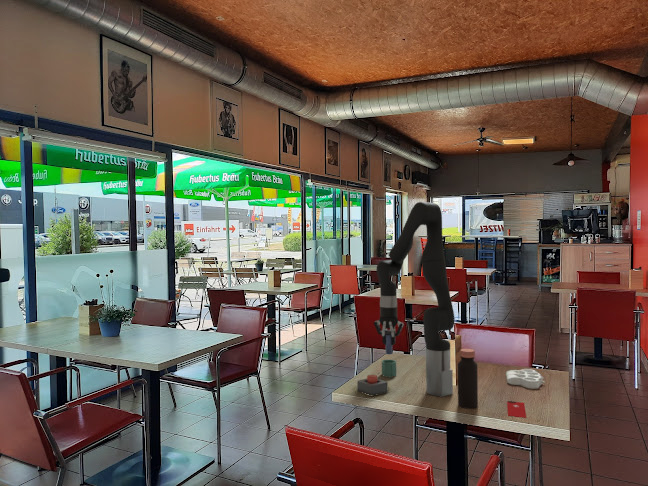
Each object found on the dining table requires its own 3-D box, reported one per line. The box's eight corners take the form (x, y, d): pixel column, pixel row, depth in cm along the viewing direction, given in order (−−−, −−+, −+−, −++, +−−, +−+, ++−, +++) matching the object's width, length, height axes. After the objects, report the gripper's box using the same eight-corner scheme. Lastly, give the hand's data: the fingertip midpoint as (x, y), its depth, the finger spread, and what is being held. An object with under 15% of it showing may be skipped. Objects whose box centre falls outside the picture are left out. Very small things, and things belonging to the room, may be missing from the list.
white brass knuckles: (506, 374, 209) (542, 377, 204) (507, 387, 192) (547, 390, 187) (506, 367, 209) (542, 369, 204) (507, 379, 192) (547, 382, 187)
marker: (394, 353, 209) (393, 331, 209) (388, 354, 208) (388, 331, 208) (389, 352, 212) (389, 329, 212) (384, 353, 210) (383, 330, 210)
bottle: (478, 409, 167) (478, 352, 167) (458, 408, 168) (458, 352, 168) (476, 402, 174) (476, 348, 173) (457, 401, 175) (456, 347, 175)
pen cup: (399, 375, 209) (399, 361, 209) (388, 377, 206) (388, 364, 205) (389, 372, 214) (389, 358, 214) (379, 374, 211) (379, 360, 211)
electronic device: (526, 419, 159) (524, 404, 173) (526, 417, 159) (524, 402, 173) (507, 417, 161) (507, 402, 175) (507, 415, 161) (507, 400, 175)
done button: (379, 384, 187) (379, 376, 187) (371, 386, 185) (371, 378, 185) (373, 381, 191) (373, 374, 191) (365, 383, 189) (365, 375, 189)
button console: (387, 392, 187) (387, 382, 187) (370, 396, 182) (370, 386, 182) (373, 386, 194) (373, 376, 194) (357, 390, 189) (357, 380, 189)
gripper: (406, 305, 210) (406, 344, 210) (375, 303, 216) (376, 341, 216) (402, 307, 203) (402, 348, 203) (370, 305, 209) (371, 345, 209)
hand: (388, 344), depth 210 cm, fingers closed on marker, 3 cm apart
